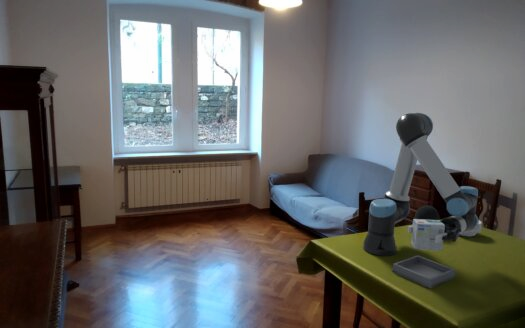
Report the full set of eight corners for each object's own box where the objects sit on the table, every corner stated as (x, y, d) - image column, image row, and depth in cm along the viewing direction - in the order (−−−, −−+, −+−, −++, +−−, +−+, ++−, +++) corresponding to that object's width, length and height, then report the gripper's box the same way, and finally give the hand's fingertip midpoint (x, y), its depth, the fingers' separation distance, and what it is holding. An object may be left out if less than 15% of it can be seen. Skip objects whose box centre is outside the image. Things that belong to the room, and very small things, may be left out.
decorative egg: (443, 235, 206) (446, 207, 204) (425, 237, 202) (427, 209, 199) (426, 227, 218) (428, 201, 215) (408, 229, 213) (410, 203, 211)
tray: (392, 271, 160) (393, 263, 159) (416, 262, 170) (417, 255, 169) (430, 288, 146) (431, 279, 146) (454, 277, 156) (455, 269, 155)
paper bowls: (475, 230, 215) (477, 216, 214) (484, 240, 201) (486, 225, 199) (445, 227, 219) (447, 214, 217) (452, 237, 204) (454, 222, 203)
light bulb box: (437, 245, 159) (439, 219, 157) (442, 251, 152) (446, 225, 150) (410, 243, 160) (412, 218, 158) (414, 249, 153) (417, 223, 151)
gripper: (479, 243, 156) (449, 254, 144) (426, 226, 175) (395, 234, 163) (482, 225, 155) (452, 234, 143) (427, 210, 174) (397, 217, 162)
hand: (421, 234), depth 153 cm, fingers closed on light bulb box, 11 cm apart
